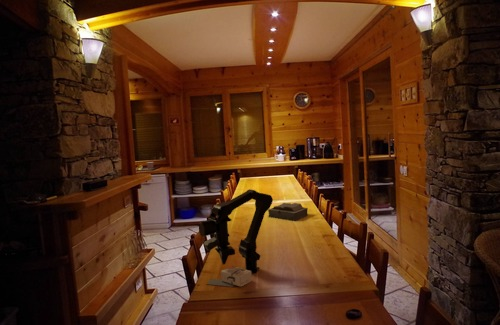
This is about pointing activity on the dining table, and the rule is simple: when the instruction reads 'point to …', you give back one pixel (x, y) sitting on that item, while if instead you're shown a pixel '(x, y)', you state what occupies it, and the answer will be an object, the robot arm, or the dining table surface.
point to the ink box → (236, 276)
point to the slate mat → (219, 283)
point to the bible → (288, 211)
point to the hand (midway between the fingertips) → (223, 264)
